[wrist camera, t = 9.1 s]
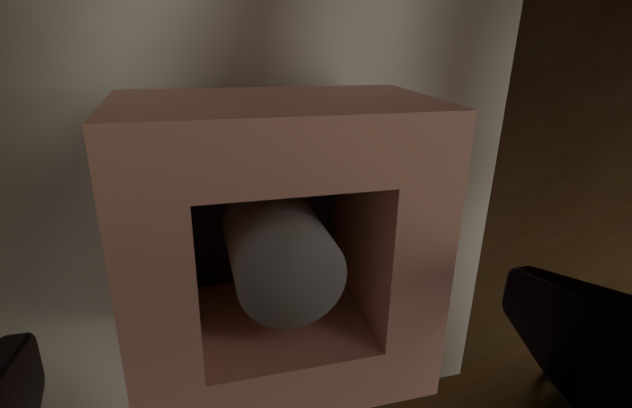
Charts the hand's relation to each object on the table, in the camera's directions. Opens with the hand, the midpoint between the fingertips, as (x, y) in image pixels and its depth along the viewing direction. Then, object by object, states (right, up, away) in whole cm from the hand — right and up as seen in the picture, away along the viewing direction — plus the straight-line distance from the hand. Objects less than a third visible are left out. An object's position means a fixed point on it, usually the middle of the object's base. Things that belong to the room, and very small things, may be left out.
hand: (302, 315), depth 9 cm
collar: (-1, +2, +4) cm, 5 cm away
